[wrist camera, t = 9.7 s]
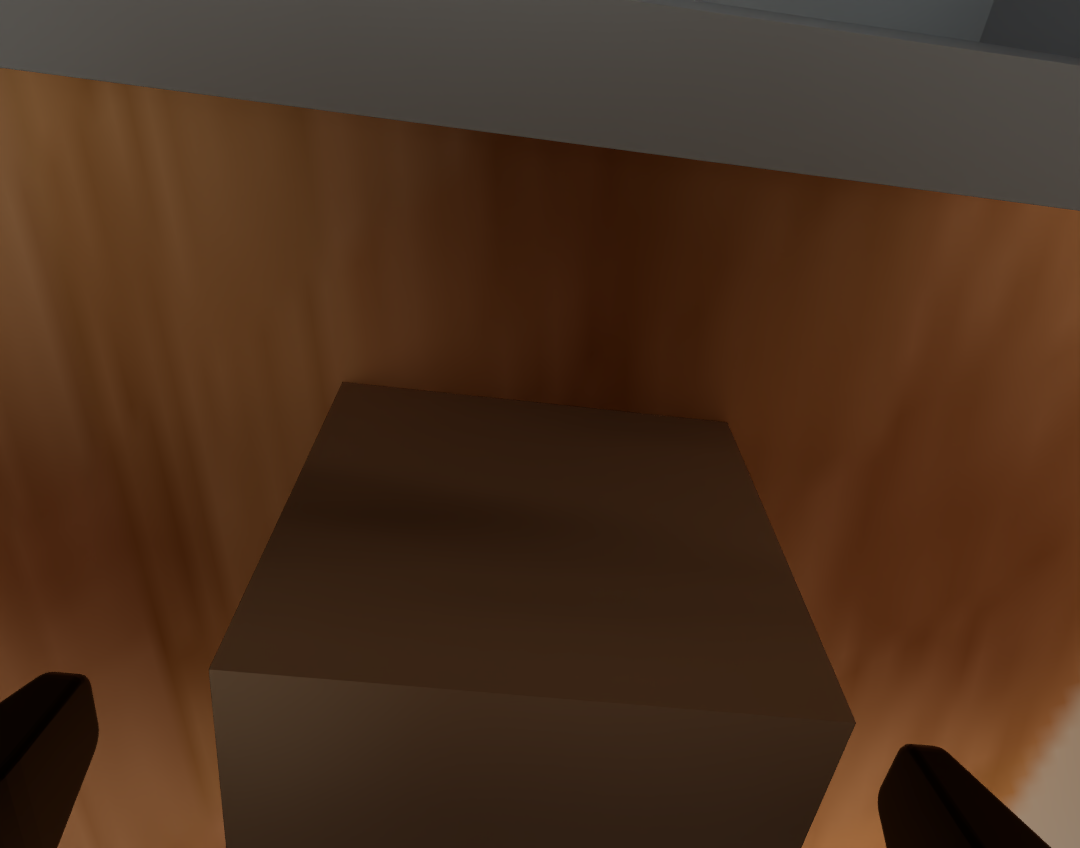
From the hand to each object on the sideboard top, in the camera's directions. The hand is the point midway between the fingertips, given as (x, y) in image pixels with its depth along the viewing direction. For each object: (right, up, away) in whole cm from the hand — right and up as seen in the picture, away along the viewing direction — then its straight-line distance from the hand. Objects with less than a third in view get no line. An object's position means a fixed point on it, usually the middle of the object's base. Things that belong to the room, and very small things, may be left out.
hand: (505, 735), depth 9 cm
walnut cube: (0, +2, +3) cm, 3 cm away
